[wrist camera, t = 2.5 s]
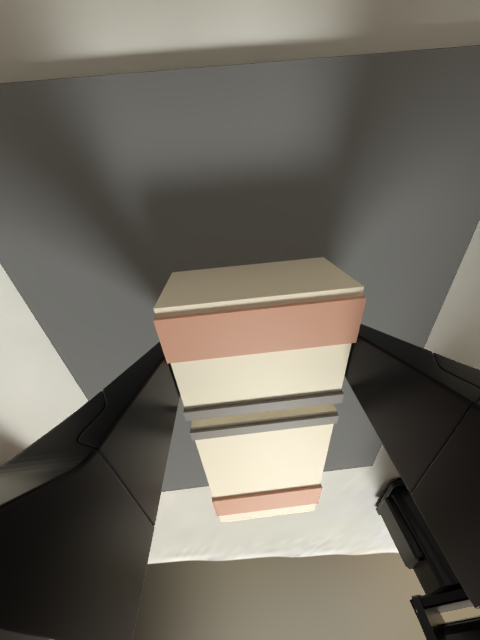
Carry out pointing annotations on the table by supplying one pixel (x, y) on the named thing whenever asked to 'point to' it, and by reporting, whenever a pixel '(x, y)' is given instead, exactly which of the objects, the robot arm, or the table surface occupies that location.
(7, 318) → the table surface
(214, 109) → the mat
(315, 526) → the table surface
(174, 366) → the stub
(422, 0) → the table surface
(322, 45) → the table surface
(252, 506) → the ticket
